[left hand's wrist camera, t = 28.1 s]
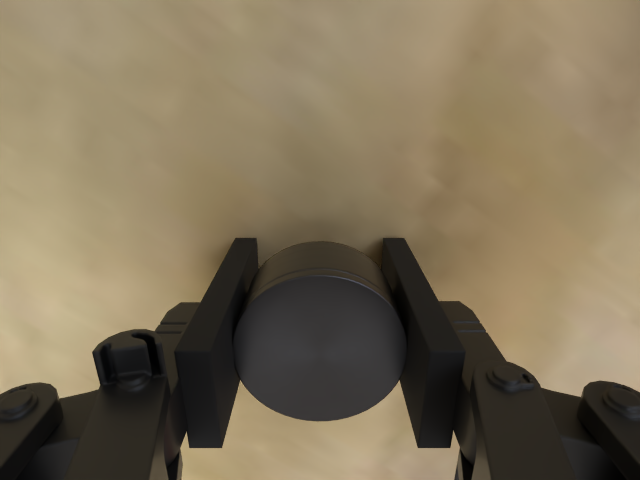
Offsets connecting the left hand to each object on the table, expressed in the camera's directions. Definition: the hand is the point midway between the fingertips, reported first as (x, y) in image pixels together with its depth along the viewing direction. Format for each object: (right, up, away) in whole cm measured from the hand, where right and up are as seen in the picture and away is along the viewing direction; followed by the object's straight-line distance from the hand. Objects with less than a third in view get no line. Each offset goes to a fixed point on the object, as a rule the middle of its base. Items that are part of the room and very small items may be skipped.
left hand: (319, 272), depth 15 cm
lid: (0, -2, -4) cm, 4 cm away
